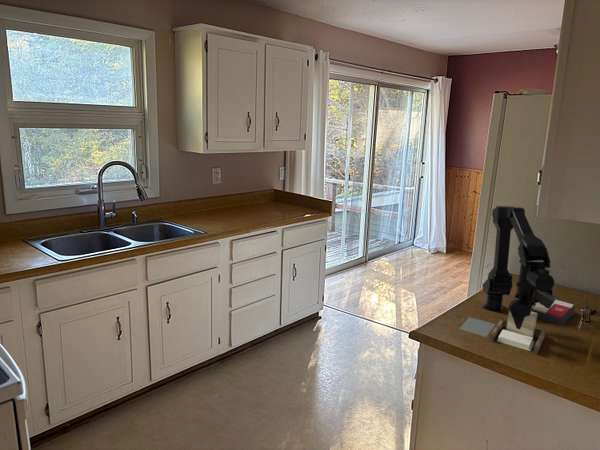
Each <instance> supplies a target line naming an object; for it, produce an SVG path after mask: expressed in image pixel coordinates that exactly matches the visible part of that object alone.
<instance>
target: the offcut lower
mask: <svg viewBox="0 0 600 450" xmlns="http://www.w3.org/2000/svg"><path fill="white" fill-rule="evenodd" d="M496 342H497V343H498V342H499V343H502V344H505V345H508V346H512V347H515V348H518V349H522V350H526V351H528V352H531V350H532V349H533V348H534V346H535V342H534V341H532V343H531V346H530V348H529V349H525V348H522V347H518V346H515V345H512V344H508V343H505V342H501V341H498V339H496Z"/></svg>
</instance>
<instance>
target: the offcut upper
mask: <svg viewBox="0 0 600 450" xmlns="http://www.w3.org/2000/svg"><path fill="white" fill-rule="evenodd" d="M499 333H500V334H499V335H497V336H498V337H497V340H498V341H501V342H505V343H508V344H512V345H515V346H518V347H522V348H525V349H529V348H530V346H531V343H532V342H533V341H534V337H533V338H532V337H528V336H525V335H521V334H518V333H514V332H510V331H507V330H506V329H501V331H500V332H499ZM498 341H497V342H498ZM501 342H500V343H501ZM508 344H507V345H508ZM515 346H514V347H515ZM518 347H517V348H518ZM525 349H524V350H525Z"/></svg>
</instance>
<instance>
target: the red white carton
mask: <svg viewBox="0 0 600 450" xmlns="http://www.w3.org/2000/svg"><path fill="white" fill-rule="evenodd" d="M575 309H576V305H574V304H572V303H569V302H566V301H561V300H558V299H555V301H554V303H553V304H552V306H551V307H550V309H548V308H546V307H545V306H543V305H541V304H540V303H538V302H537V303H535V304H534V305H533V306H532V311H531V312H535V313H538V314H537V319H540V320H541V321H542V320H543V321H546V322H550V323H552V324H556V325H559V326H563V325H564V324H565V323H566V322H567V321H568V320H569V319H570V318H571V317H572V316H574V314H575Z"/></svg>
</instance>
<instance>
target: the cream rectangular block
mask: <svg viewBox="0 0 600 450" xmlns="http://www.w3.org/2000/svg"><path fill="white" fill-rule="evenodd" d="M537 314H538V313H535V312H531V314H530V315H529V316H526V317H525V318H524V321H523V323H522V326H521V328H520V329H517V328H516V326H515V323H514V320H513V317H512V314H511V312H510V311H509V310H508V315H507V320H508V321H507V327H505V328H506V329H505V330H507V331H510V332H514V333H518V334H521V335H525V336H528V337H532V338H533V339H534V337H535V335H534V332H535V327H536V325H537V320H538V318H537Z"/></svg>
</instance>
